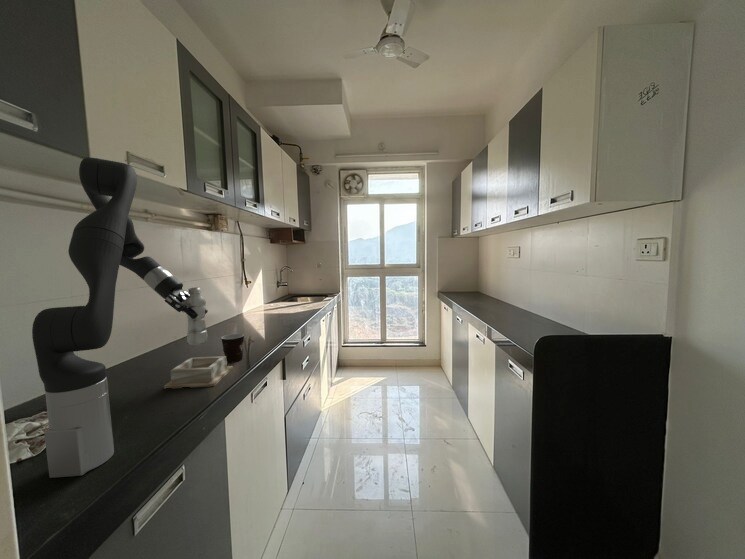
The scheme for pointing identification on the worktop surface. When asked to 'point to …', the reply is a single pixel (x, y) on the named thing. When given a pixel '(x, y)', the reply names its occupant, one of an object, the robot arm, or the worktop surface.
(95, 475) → the worktop surface
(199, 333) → the plastic bottle
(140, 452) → the worktop surface
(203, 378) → the plate
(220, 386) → the worktop surface
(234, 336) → the coffee mug
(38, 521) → the worktop surface
